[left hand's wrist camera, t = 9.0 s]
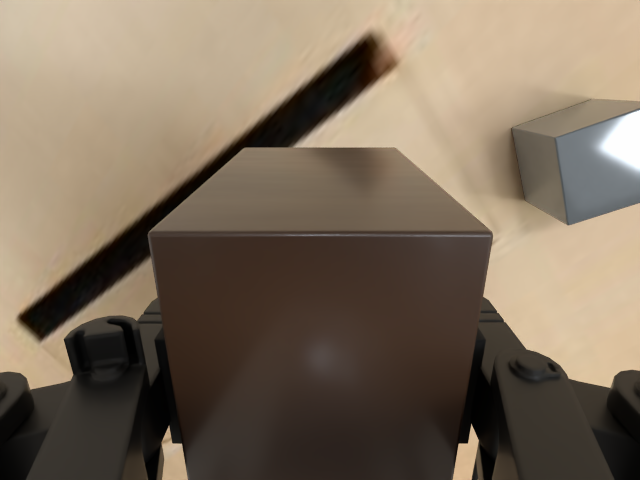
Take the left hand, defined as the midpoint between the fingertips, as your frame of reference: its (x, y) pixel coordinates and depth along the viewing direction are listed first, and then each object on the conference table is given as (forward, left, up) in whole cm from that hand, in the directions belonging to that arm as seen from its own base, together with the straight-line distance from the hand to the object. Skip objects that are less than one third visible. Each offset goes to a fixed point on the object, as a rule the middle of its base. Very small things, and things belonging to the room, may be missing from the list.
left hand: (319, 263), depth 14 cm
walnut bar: (+9, 0, 0) cm, 9 cm away
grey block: (-2, +15, -13) cm, 20 cm away
